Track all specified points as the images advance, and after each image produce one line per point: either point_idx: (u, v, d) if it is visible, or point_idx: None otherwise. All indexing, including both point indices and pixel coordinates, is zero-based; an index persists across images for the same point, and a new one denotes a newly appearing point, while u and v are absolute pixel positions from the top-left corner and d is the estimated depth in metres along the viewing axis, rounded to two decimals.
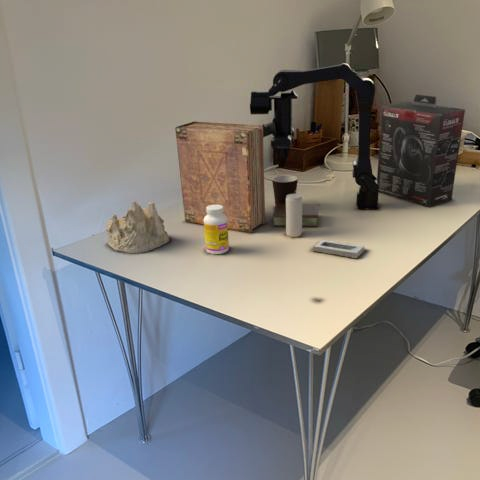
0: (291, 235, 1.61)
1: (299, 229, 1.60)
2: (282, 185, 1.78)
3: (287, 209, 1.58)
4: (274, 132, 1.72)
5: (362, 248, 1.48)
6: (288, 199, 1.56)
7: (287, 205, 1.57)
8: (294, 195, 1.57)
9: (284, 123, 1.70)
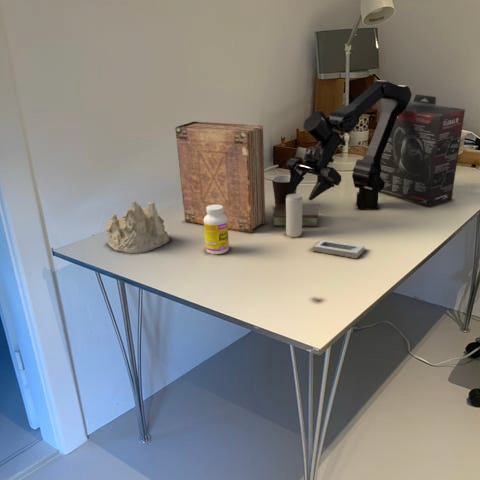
0: (291, 235, 1.61)
1: (299, 229, 1.60)
2: (282, 185, 1.78)
3: (287, 209, 1.58)
4: (319, 162, 1.57)
5: (362, 248, 1.48)
6: (288, 199, 1.56)
7: (287, 205, 1.57)
8: (294, 195, 1.57)
9: (329, 159, 1.59)
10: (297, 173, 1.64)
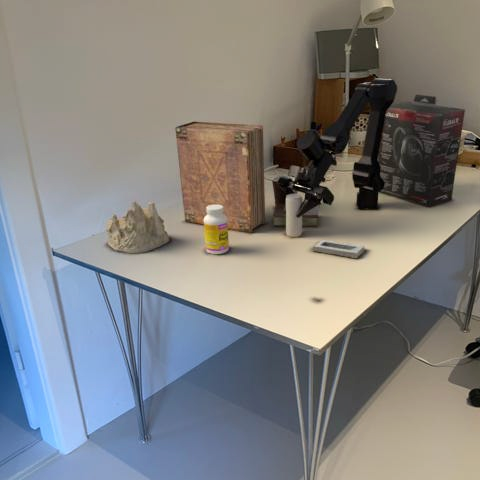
0: (291, 235, 1.61)
1: (299, 229, 1.60)
2: None
3: (287, 209, 1.58)
4: (311, 181, 1.55)
5: (362, 248, 1.48)
6: (288, 199, 1.56)
7: (287, 205, 1.57)
8: (294, 195, 1.57)
9: (321, 179, 1.58)
10: (293, 193, 1.61)
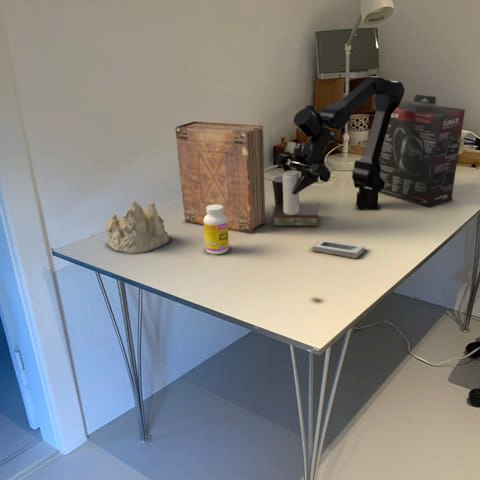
0: (288, 212, 1.60)
1: (296, 206, 1.59)
2: None
3: (283, 186, 1.57)
4: (308, 158, 1.54)
5: (362, 248, 1.48)
6: (284, 176, 1.55)
7: (283, 182, 1.56)
8: (291, 172, 1.56)
9: (318, 156, 1.56)
10: (291, 170, 1.60)
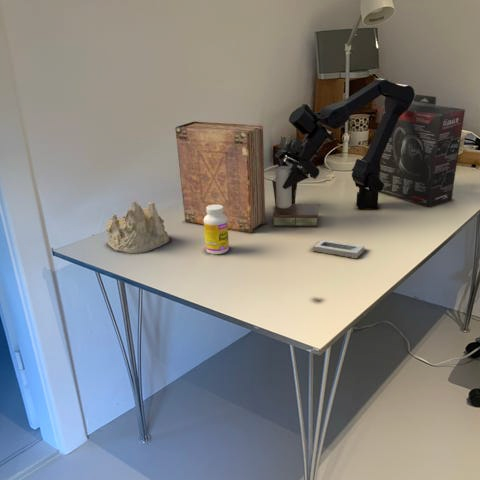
0: (279, 206, 1.67)
1: (287, 201, 1.66)
2: None
3: (276, 180, 1.65)
4: (300, 154, 1.60)
5: (362, 248, 1.48)
6: (276, 170, 1.63)
7: (276, 176, 1.64)
8: (284, 167, 1.64)
9: (312, 153, 1.62)
10: None
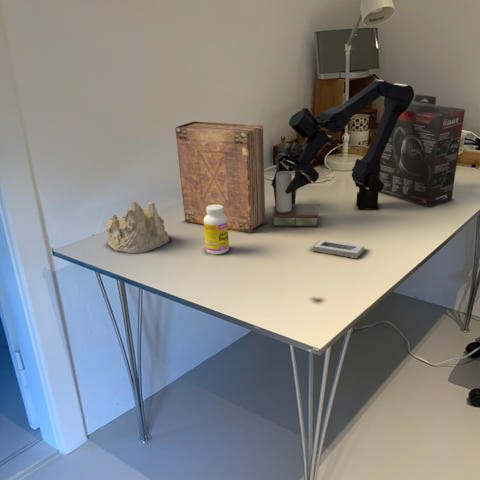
0: (279, 211, 1.68)
1: (287, 206, 1.67)
2: None
3: (276, 185, 1.65)
4: (300, 158, 1.61)
5: (362, 248, 1.48)
6: (276, 175, 1.64)
7: (276, 181, 1.65)
8: (284, 172, 1.64)
9: (312, 157, 1.62)
10: (283, 167, 1.69)
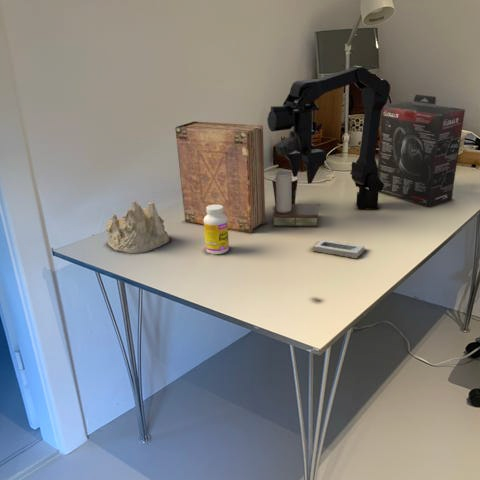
0: (279, 211, 1.68)
1: (287, 206, 1.67)
2: None
3: (276, 185, 1.65)
4: (299, 147, 1.59)
5: (362, 248, 1.48)
6: (276, 175, 1.64)
7: (276, 181, 1.65)
8: (284, 172, 1.64)
9: (309, 136, 1.59)
10: (293, 155, 1.69)
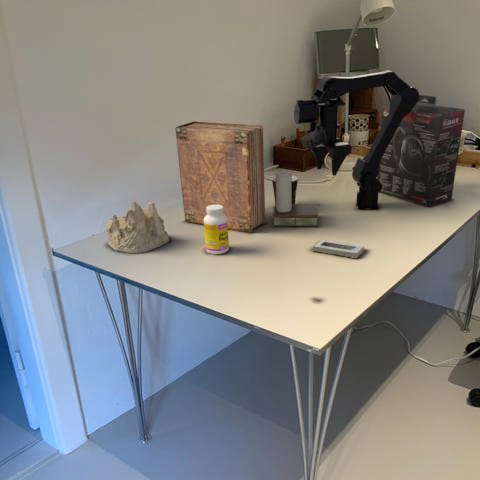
0: (279, 211, 1.68)
1: (287, 206, 1.67)
2: None
3: (276, 185, 1.65)
4: (325, 141, 1.65)
5: (362, 248, 1.48)
6: (276, 175, 1.64)
7: (276, 181, 1.65)
8: (284, 172, 1.64)
9: (334, 130, 1.65)
10: (317, 148, 1.74)
